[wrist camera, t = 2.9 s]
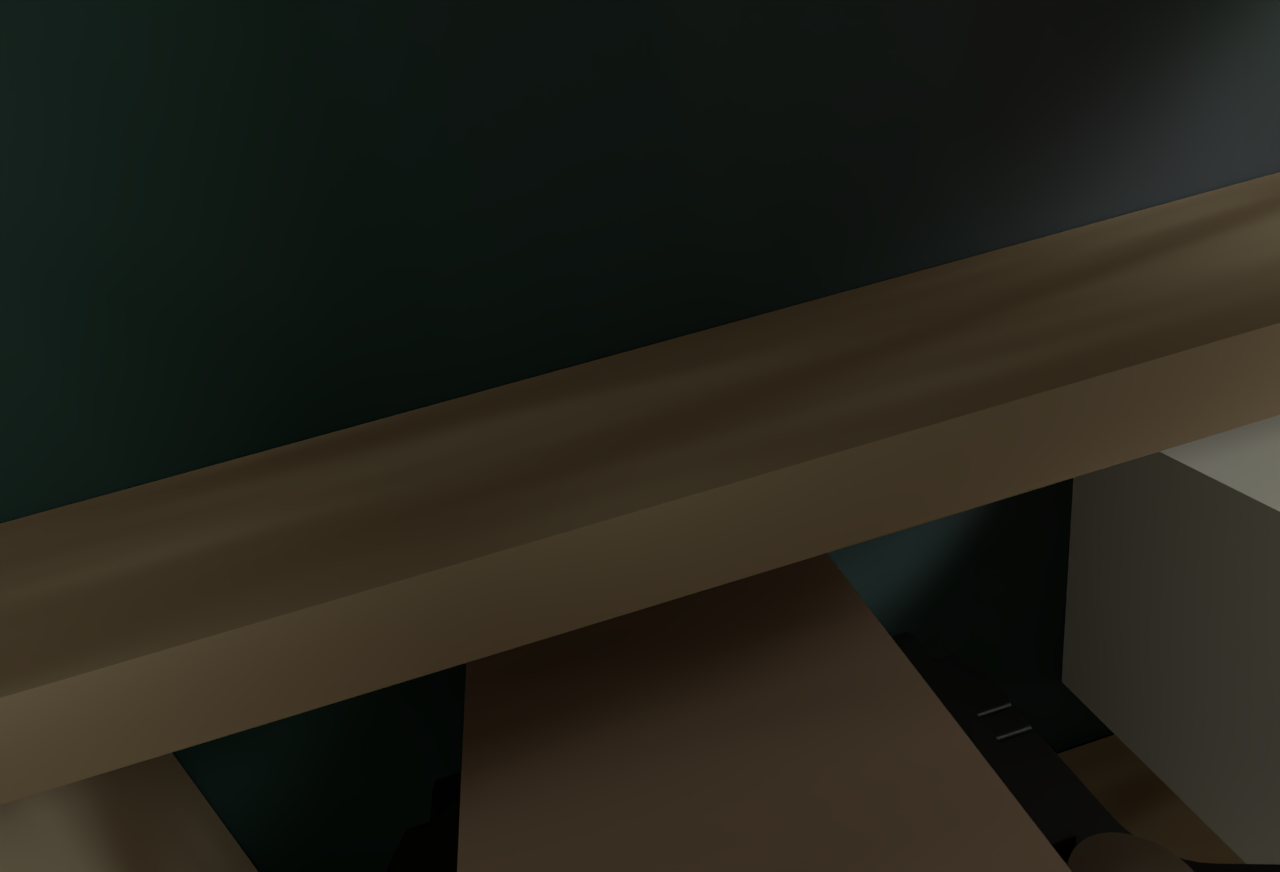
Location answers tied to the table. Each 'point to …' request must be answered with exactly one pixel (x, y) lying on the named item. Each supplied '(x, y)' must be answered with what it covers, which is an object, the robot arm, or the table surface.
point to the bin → (608, 511)
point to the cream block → (1187, 623)
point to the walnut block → (729, 746)
